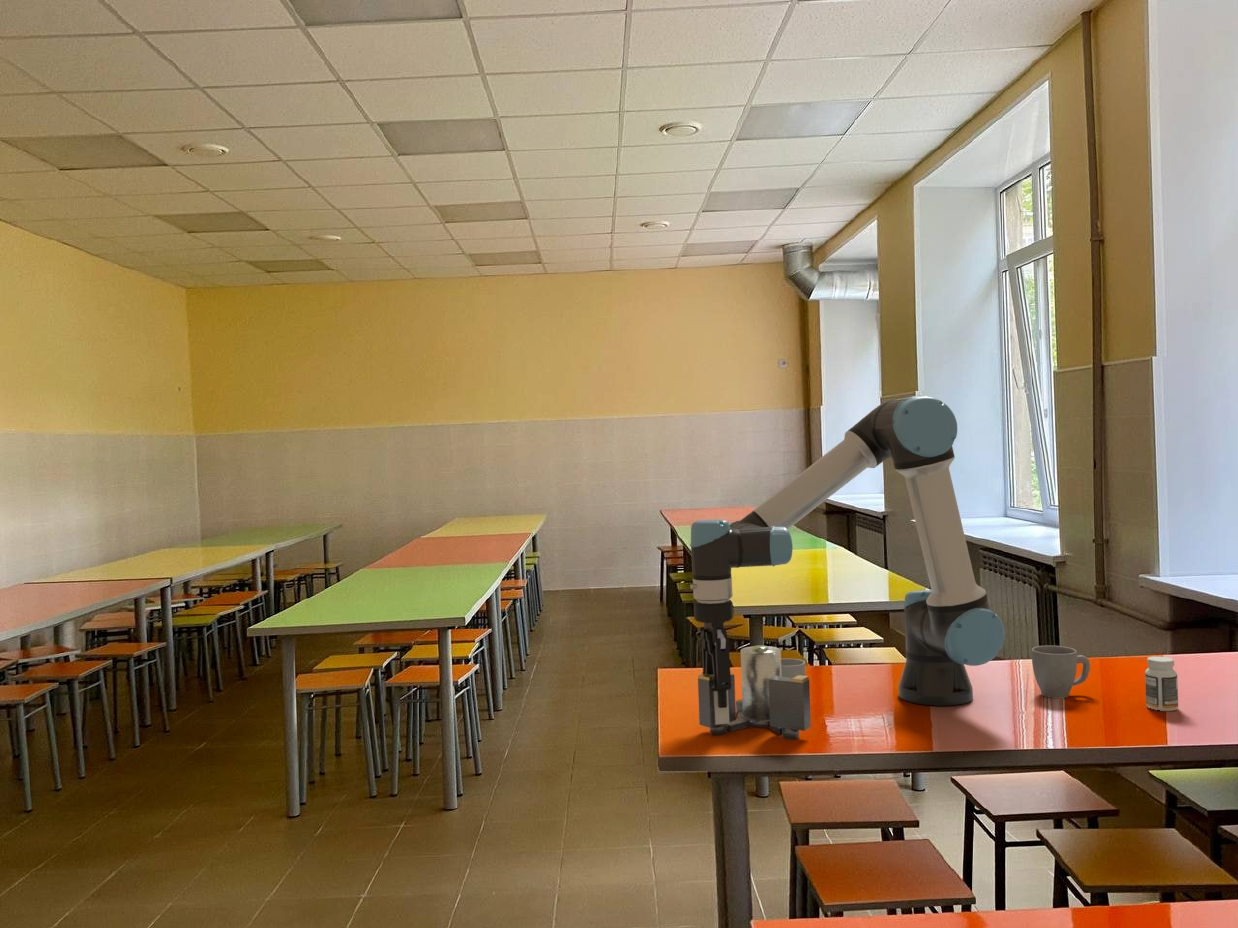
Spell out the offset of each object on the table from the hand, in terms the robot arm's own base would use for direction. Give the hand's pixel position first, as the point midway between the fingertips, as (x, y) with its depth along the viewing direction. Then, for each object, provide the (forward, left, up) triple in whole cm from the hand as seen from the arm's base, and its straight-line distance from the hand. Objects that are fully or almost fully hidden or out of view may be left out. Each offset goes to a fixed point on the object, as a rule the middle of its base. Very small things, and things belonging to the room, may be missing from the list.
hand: (718, 719), depth 191 cm
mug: (-66, -41, -3) cm, 77 cm away
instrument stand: (-7, -9, -3) cm, 11 cm away
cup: (-9, -23, -3) cm, 25 cm away
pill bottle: (-83, -33, -3) cm, 89 cm away
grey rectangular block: (-14, 0, -3) cm, 14 cm away
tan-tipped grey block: (0, 0, -3) cm, 3 cm away
